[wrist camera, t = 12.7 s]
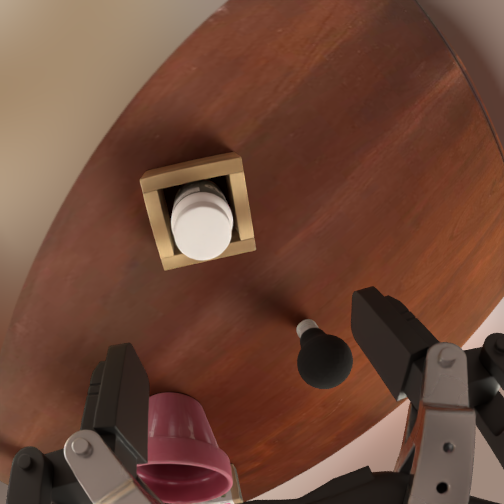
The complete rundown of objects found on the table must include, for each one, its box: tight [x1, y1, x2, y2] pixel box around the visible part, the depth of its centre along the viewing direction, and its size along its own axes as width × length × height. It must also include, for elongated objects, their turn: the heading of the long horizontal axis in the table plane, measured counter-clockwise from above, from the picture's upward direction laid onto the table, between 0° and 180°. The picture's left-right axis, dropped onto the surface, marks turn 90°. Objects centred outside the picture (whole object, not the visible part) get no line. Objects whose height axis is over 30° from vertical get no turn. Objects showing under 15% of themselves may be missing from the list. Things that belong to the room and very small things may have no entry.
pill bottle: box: [171, 179, 233, 260], centre depth 25 cm, size 5×5×8 cm
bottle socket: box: [140, 152, 256, 270], centre depth 27 cm, size 8×8×4 cm
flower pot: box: [137, 392, 233, 504], centre depth 34 cm, size 14×14×13 cm
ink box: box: [189, 464, 243, 504], centre depth 46 cm, size 10×4×8 cm, turn 98°
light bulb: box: [297, 319, 353, 389], centre depth 33 cm, size 6×6×10 cm
